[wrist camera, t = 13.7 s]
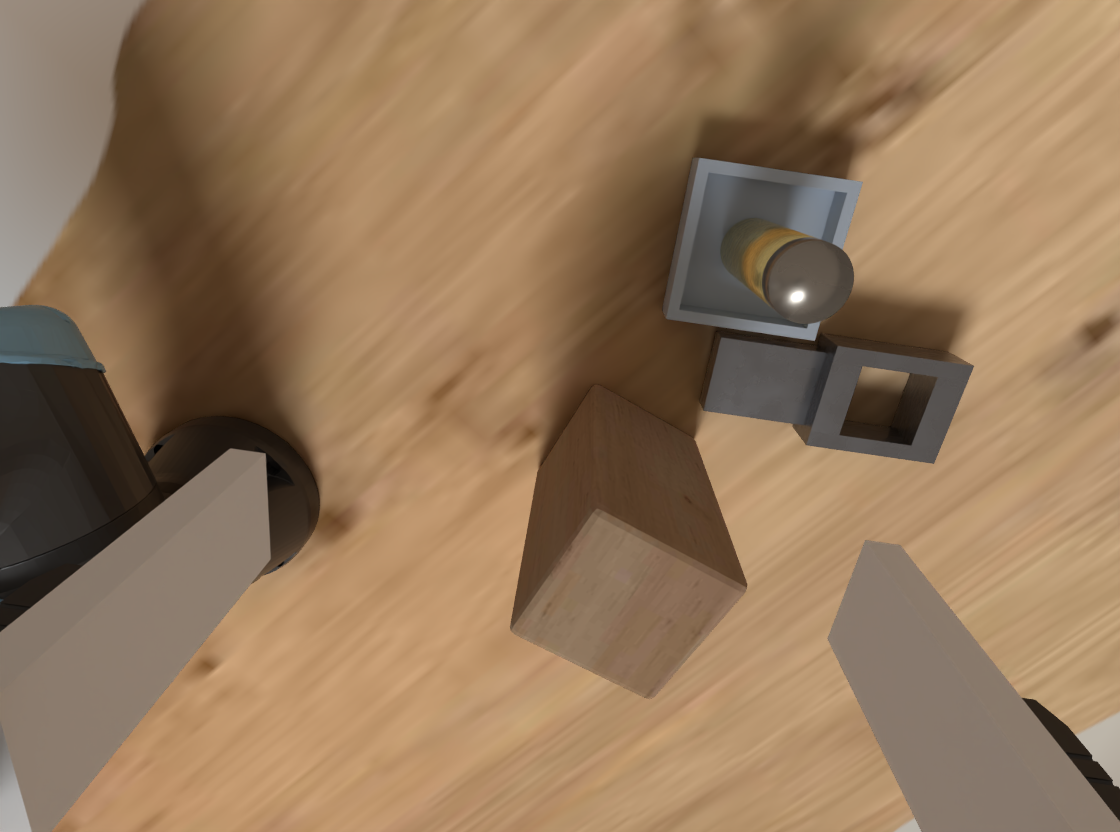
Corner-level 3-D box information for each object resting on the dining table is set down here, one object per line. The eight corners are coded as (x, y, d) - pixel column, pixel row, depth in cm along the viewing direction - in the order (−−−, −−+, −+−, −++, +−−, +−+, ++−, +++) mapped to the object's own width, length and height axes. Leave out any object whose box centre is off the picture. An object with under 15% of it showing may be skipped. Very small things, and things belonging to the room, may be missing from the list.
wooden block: (696, 438, 53) (753, 589, 34) (632, 525, 56) (651, 705, 38) (594, 380, 51) (595, 505, 33) (535, 473, 55) (505, 634, 36)
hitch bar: (696, 412, 52) (703, 430, 48) (719, 318, 49) (728, 329, 45) (912, 444, 52) (933, 463, 48) (948, 351, 49) (973, 365, 45)
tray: (662, 309, 49) (666, 318, 46) (692, 157, 44) (699, 157, 42) (802, 330, 49) (814, 340, 46) (845, 180, 44) (862, 182, 42)
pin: (714, 274, 47) (759, 317, 34) (728, 213, 45) (781, 234, 32) (772, 283, 47) (838, 329, 34) (789, 222, 45) (865, 247, 32)
